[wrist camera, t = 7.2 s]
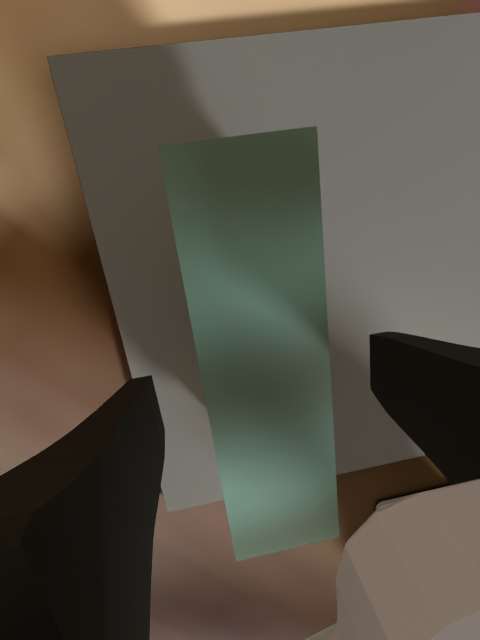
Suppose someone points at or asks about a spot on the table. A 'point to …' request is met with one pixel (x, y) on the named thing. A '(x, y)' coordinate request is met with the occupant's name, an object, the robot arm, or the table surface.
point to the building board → (336, 202)
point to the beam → (260, 328)
